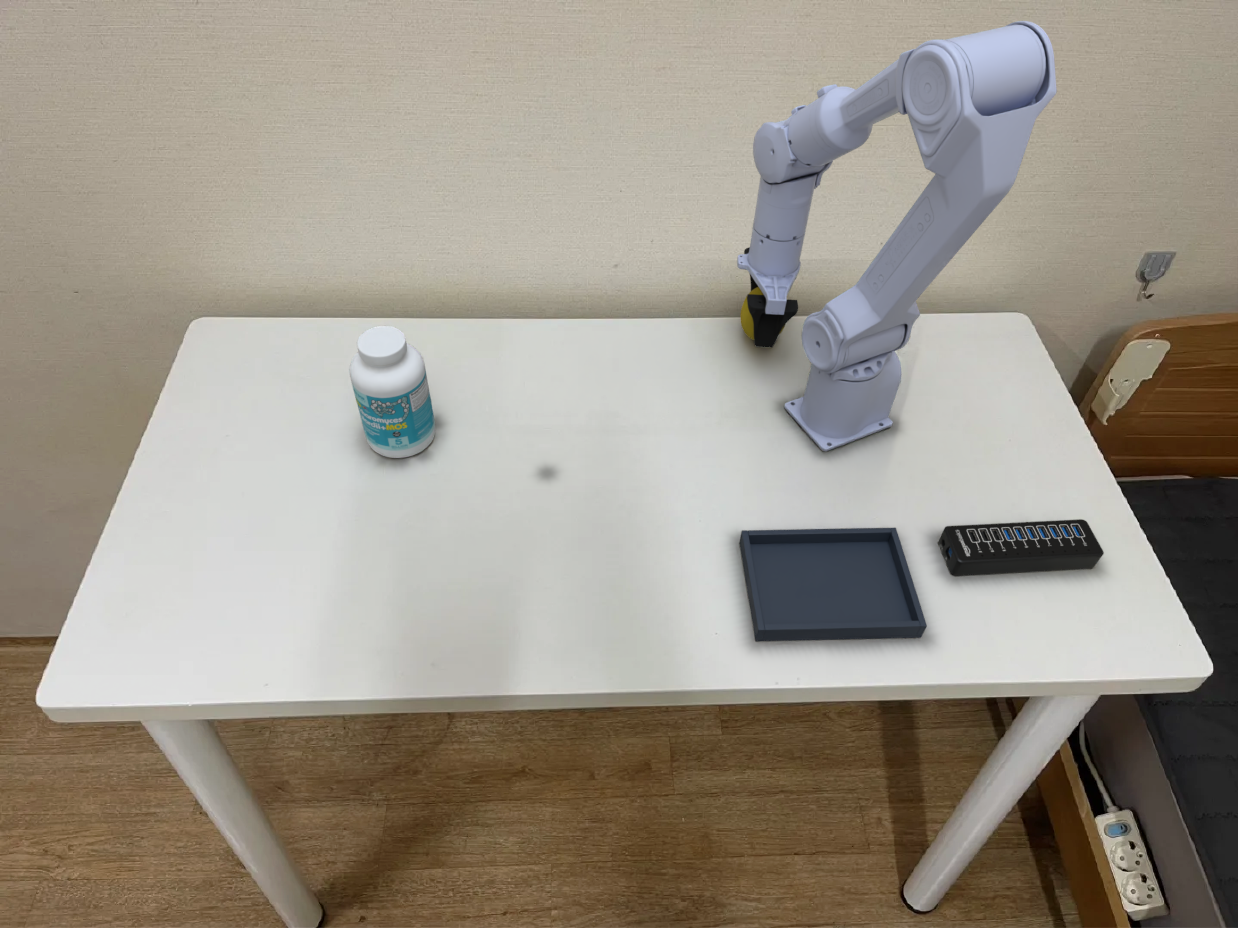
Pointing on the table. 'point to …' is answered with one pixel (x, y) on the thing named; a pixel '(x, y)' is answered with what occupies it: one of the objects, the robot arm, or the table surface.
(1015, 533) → the multiport hub
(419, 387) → the pill bottle
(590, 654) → the table surface
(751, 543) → the tray
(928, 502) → the table surface
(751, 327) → the lemon
